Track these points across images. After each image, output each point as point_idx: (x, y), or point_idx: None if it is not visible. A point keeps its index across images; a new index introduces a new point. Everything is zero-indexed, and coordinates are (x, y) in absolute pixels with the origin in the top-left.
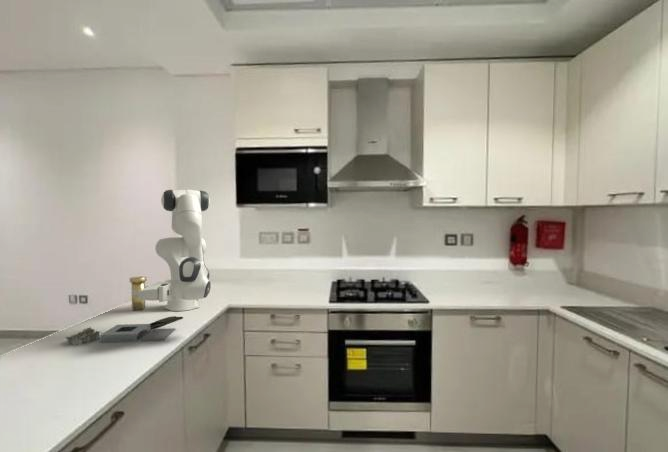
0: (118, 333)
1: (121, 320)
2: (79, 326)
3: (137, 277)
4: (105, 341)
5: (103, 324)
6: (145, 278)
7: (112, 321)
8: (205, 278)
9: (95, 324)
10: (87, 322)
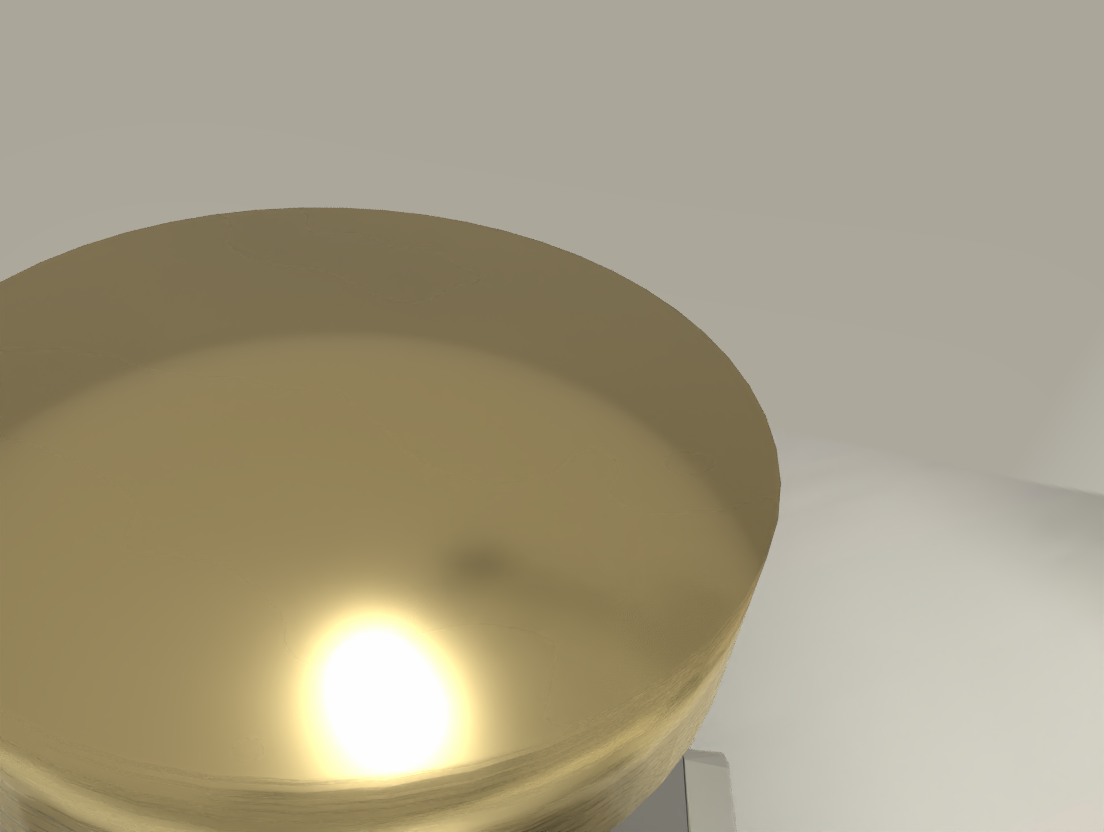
0: None
1: (1082, 715)
2: (812, 457)
3: (477, 362)
4: None
5: (899, 597)
6: (170, 799)
7: (1018, 641)
8: None
9: (886, 539)
10: (932, 473)
